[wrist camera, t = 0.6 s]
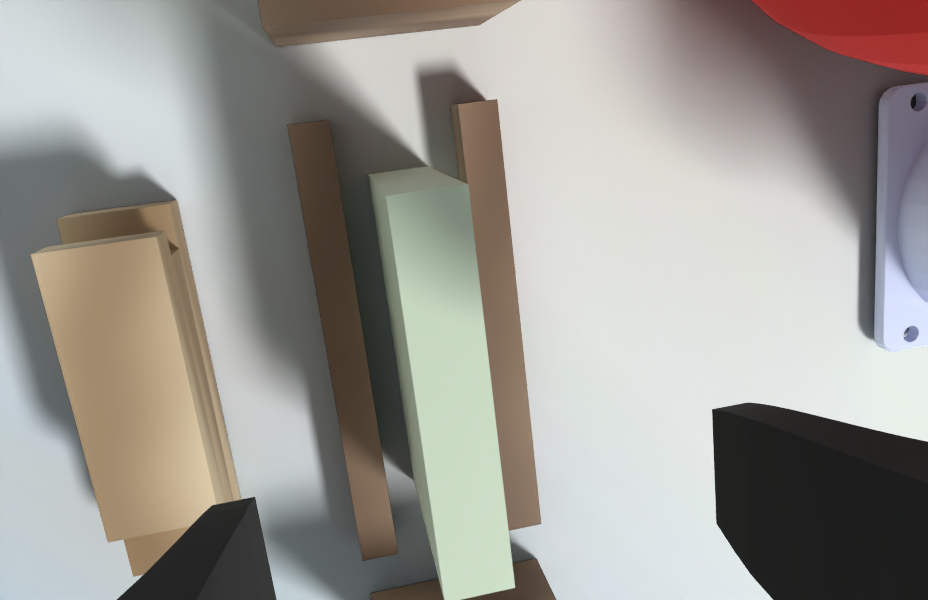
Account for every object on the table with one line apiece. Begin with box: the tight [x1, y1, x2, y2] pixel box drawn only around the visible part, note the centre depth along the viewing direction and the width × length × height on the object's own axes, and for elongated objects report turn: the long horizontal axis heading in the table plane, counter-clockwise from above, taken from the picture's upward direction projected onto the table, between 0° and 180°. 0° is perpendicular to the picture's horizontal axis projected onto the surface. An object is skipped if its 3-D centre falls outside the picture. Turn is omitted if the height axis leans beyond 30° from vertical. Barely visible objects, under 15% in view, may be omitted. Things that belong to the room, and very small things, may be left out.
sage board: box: [368, 166, 515, 600], centre depth 19 cm, size 2×9×6 cm, turn 7°
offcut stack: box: [31, 200, 241, 576], centre depth 19 cm, size 3×9×3 cm, turn 7°
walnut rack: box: [258, 0, 556, 600], centre depth 19 cm, size 5×18×4 cm, turn 7°
